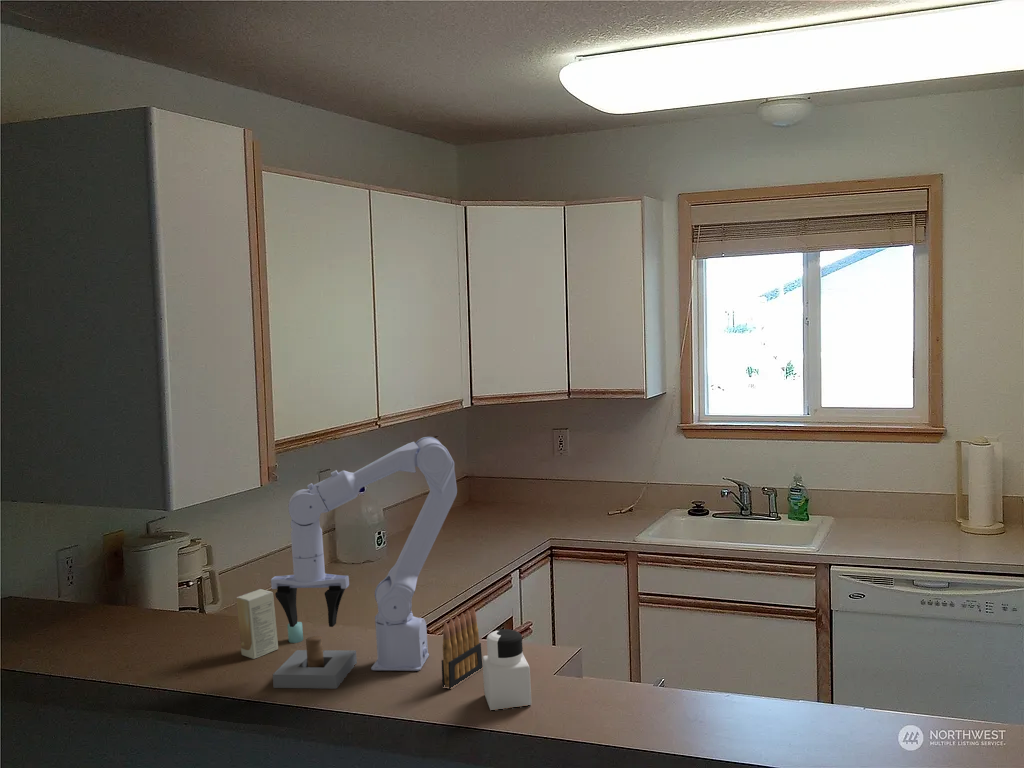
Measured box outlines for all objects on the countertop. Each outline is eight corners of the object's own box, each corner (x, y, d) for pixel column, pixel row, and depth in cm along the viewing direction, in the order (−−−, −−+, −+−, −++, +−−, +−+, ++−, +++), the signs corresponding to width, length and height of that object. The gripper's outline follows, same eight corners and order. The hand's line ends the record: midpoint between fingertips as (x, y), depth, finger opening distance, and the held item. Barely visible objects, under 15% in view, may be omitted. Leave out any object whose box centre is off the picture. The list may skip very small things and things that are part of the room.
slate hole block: (356, 663, 184) (355, 650, 184) (336, 688, 173) (335, 675, 172) (297, 662, 186) (296, 650, 186) (273, 687, 174) (272, 674, 174)
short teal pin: (305, 637, 200) (304, 621, 200) (300, 643, 197) (299, 626, 197) (291, 637, 200) (290, 621, 200) (286, 642, 197) (285, 626, 197)
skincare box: (266, 645, 196) (261, 587, 195) (279, 649, 194) (274, 591, 193) (239, 655, 192) (235, 596, 190) (252, 660, 189) (248, 599, 188)
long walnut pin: (326, 671, 181) (324, 636, 180) (321, 678, 178) (319, 641, 177) (311, 672, 181) (308, 636, 180) (306, 678, 178) (303, 641, 177)
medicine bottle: (524, 689, 168) (520, 623, 167) (532, 706, 161) (528, 637, 160) (484, 694, 167) (480, 628, 166) (490, 711, 160) (486, 642, 159)
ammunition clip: (474, 667, 180) (471, 605, 178) (483, 668, 179) (479, 606, 177) (442, 688, 170) (438, 623, 169) (450, 690, 169) (446, 624, 168)
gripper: (352, 548, 181) (356, 617, 182) (279, 549, 183) (284, 617, 184) (340, 558, 174) (345, 630, 175) (264, 559, 176) (270, 630, 177)
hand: (313, 625), depth 179 cm, fingers open, 7 cm apart
